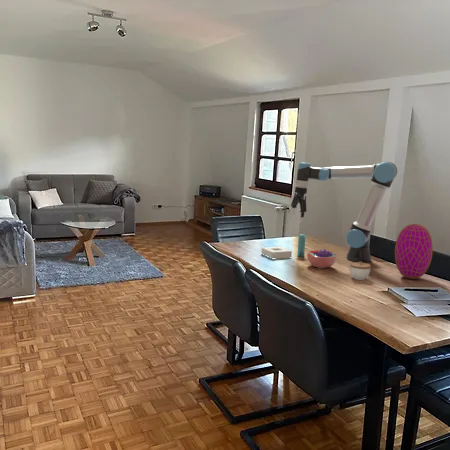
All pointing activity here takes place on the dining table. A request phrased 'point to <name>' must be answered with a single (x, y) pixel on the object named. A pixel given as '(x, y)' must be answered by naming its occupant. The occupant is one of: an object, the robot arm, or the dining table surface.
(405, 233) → the decorative egg
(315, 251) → the cell model
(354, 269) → the lidded jar
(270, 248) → the socket block
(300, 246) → the peg
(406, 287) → the dining table surface
